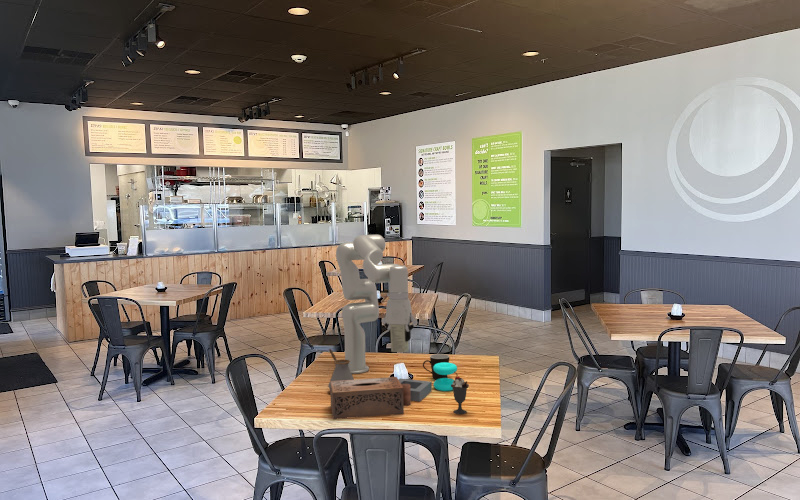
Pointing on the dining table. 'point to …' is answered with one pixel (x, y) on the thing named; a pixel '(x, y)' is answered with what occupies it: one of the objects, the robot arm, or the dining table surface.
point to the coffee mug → (434, 360)
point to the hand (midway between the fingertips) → (399, 339)
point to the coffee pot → (340, 370)
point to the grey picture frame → (418, 388)
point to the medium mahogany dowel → (406, 394)
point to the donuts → (444, 369)
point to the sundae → (459, 393)
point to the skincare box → (398, 338)
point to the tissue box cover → (366, 397)
